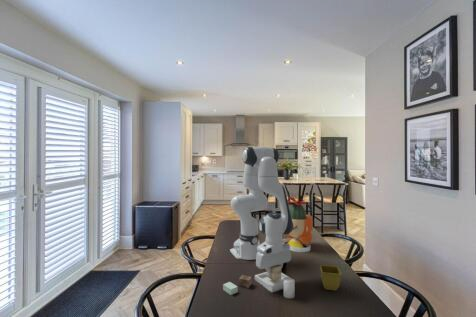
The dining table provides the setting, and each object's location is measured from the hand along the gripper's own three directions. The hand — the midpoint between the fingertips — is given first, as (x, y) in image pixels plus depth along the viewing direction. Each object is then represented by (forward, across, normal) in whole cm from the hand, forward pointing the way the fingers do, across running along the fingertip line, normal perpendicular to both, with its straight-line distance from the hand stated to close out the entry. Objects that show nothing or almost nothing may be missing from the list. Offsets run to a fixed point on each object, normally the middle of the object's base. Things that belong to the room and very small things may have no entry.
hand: (274, 273), depth 126 cm
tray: (+5, 0, 0) cm, 5 cm away
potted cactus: (+5, -48, -31) cm, 57 cm away
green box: (+5, +23, -4) cm, 24 cm away
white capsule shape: (+4, +2, +13) cm, 14 cm away
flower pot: (+5, -20, +18) cm, 27 cm away
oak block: (+2, 0, 0) cm, 2 cm away
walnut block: (+5, +14, -5) cm, 16 cm away
